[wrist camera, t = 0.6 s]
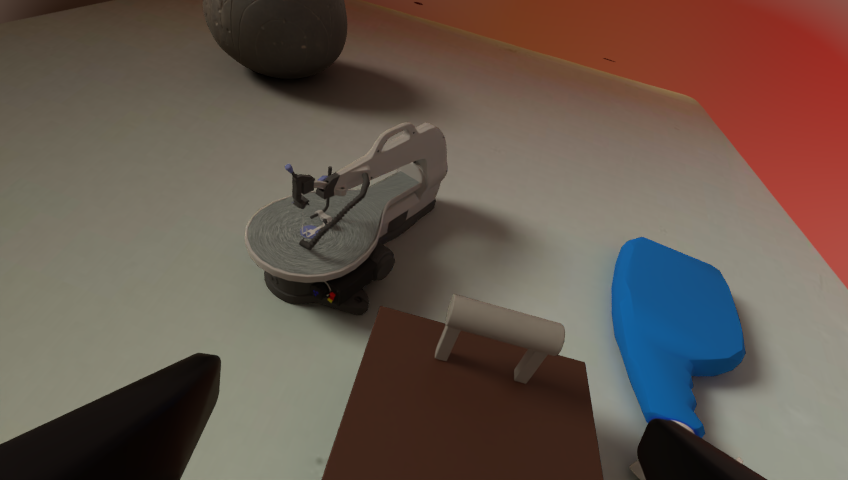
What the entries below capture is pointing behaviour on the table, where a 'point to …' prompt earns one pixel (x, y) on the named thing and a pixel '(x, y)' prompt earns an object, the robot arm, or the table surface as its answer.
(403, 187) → the scroll saw
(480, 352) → the lid
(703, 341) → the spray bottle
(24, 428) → the table surface
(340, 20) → the bowl
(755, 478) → the robot arm
